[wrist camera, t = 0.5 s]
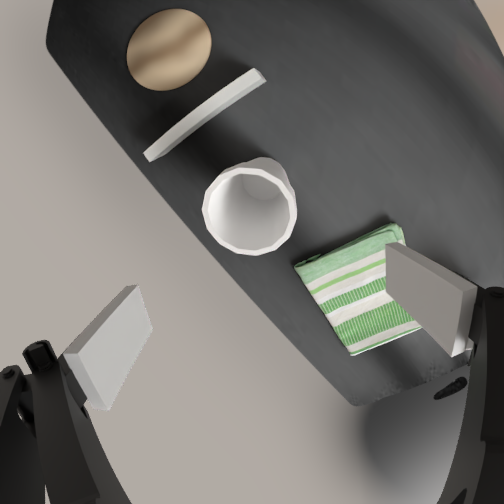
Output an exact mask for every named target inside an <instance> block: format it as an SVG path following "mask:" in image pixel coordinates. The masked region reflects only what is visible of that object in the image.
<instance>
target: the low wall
mask: <svg viewBox="0 0 504 504" xmlns="http://www.w3.org/2000/svg"><path fill="white" fill-rule="evenodd" d="M265 82H266V80H265V78H264V77H263V76H262V74H261V73H260V72H259V71H258V70H256V69H255V68H253V69H251V70H250V71H248V72H247V73H245V74H243V75H242V76H240V77H239V78H237V79H236V80H235V81H233V82H232V83H230V84H229V85H227V86H226V87H224V88H223V89H222V90H220V91H219V92H217V93H216V94H215V95H213V96H212V97H210V98H209V99H208V100H206V101H205V102H204V103H202V104H201V105H200V106H199V107H197V108H196V109H195V110H193V111H192V112H191V113H189V114H188V115H187V116H186V117H184V118H183V119H182V120H181V121H180V122H178V123H177V124H176V125H175V126H173V127H172V128H171V129H170V130H169V131H167V132H166V133H165V134H164V135H163V136H162V137H160V138H159V139H158V140H157V141H156V142H155V143H154V144H153V145H151V146H150V147H149V148H148V149H147V150H146V151H145V152H144V153H143V154H144V155H145V156H146V158H147V159H148V160H149V162H151V161H153V160H155V159H157V158H159V157H161V156H163V155H165V154H167V153H168V152H169V151H170V150H171V149H173V148H174V147H175V146H176V145H177V144H179V143H180V142H181V141H182V140H184V139H185V138H186V137H188V136H189V135H190V134H191V133H193V132H194V131H195V130H197V129H198V128H199V127H201V126H202V125H203V124H205V123H206V122H207V121H209V120H210V119H211V118H213V117H214V116H215V115H217V114H218V113H220V112H221V111H222V110H224V109H225V108H227V107H228V106H230V105H231V104H232V103H234V102H235V101H237V100H238V99H240V98H241V97H243V96H244V95H246V94H247V93H249V92H250V91H252V90H253V89H255V88H257V87H258V86H260V85H261V84H263V83H265Z"/></svg>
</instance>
